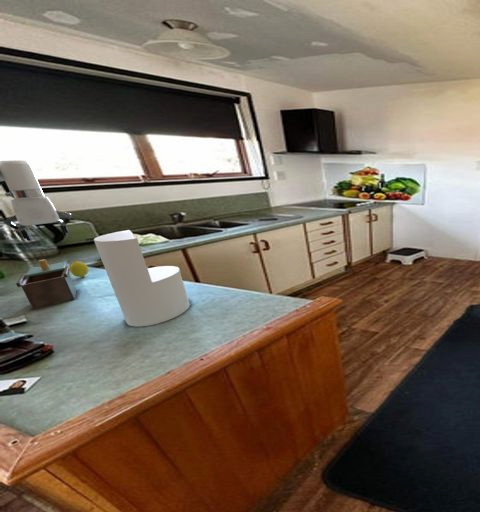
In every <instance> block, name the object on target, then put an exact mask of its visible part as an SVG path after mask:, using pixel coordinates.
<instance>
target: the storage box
mask: <svg viewBox="0 0 480 512" xmlns="http://www.w3.org/2000/svg"><path fill="white" fill-rule="evenodd" d="M69 273H70V266H69V265H68V266H67V265H66V267H65V270H61V271H56V272H51V273H45V274H40V275H35V276H30V277H26V273H24V274H21V276H20V277H19V278H18V279H17V281H16V282H15V285H16V287H17V288H21V289H22V290H23V292H24V294H25V296H26V299H27V300H28V302H29V304H30V306H31V308H32V310H33V311H35V310H39V309H43V308H47V307H51V306H55V305H59V304H62V303H68V302H71V301H75V300H76V294H77V289H76V288H75V285H74V283H73V280H72V278H71V276H70V274H69Z"/></svg>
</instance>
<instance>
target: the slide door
mask: <svg viewBox="0 0 480 512" xmlns="http://www.w3.org/2000/svg"><path fill="white" fill-rule="evenodd" d="M37 262H38V264H39V266H34V267H30V268H29V269H28V271H27V272H26V273H25V275H26V277H30V276H35V275H40V274H45V273H51V272H56V271H61V270H65V267H67V263H68V262H67V261H62V262H57V263H50V264H49V263H48V261H47V259H39V260H37Z"/></svg>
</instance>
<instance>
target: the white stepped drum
mask: <svg viewBox="0 0 480 512" xmlns="http://www.w3.org/2000/svg"><path fill="white" fill-rule="evenodd" d="M93 242H94V245H95V247H96V249H97V252H98V255H99V258H100V259H101V262H102V264H103V267H104V268H105V273H106V275H107V277H108V279H109V282H110V285H111V287H112V289H113V292H114V295H115V298H116V300H117V302H118V305H119V309H120V310H121V312H122V315H123V318H124V321H125V323H126V324H127V325H128V326H131V327H147V326H153V325H157V324H160V323H163V322H164V323H165V322H167V321H169V320H171V319H174V318H176V317H178V316H180V315H182V314H183V313H185V312H186V311H187V310H188V309H189V308H190V306H191V303H190V300H189V297H188V294H187V291H186V288H185V287H186V286H185V284H184V281H183V277H182V273H181V270H180V267H178V266H174V265H162V266H161V265H160V266H154V267H148V266H147V263H146V260H145V258H144V254H143V251H142V249H141V245H140V243H139V239H138V238H137V237H136V235H135V234H134V233H133V232H132V231H131V230H130V229H126V230H120V231H115V232H111V233H106V234H102V235H99V236H96V237H95V238H94V239H93Z"/></svg>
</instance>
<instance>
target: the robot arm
mask: <svg viewBox="0 0 480 512" xmlns="http://www.w3.org/2000/svg"><path fill="white" fill-rule="evenodd" d="M0 182H5V184H6V185H7V188H8V190H9V192H4V195H5V196H6V197H7V198H9V197H11V198H12V199H10V203H11V207H12V210H13V213H14V215H12V216H10V217H9V218H7V219H4V220H3V221H2V222H3V223H4V224H5V225H7V226H9V228H11V229H14V230H16V231H18V232H20V234H21V235H22V237H23V239H24V240H25V239H26V240H27V242H29V241H31V240H33V239H32V236H31V233H30V232H29V230H28V229H26V228H27V227H28V226H35V225H36V226H37V225H44V224H53V223H56V224H58V225H60V226H59V227H60V229H61V232H62V234H63V236H68V234H69V233H70V231H69V228H68V227H67V224H68V223H69V222H70V220H71V218H72V213H70V212H65V211H60V210H57V209H56V208H55V206H54V204H53V203H52V201H51V200H50V198H49V197H48V196H45V194H44V192H43V190H42V187H41V184H40V183H39V181H38V178H37V176H36V174H35V171H34V170H33V167H32V165H31V164H30V162H28V161H26V160H1V161H0ZM60 216H64V217H65V218H64V220H62V219H60ZM16 220H17V223H18V224H19V225H17V224H15V223H14V222H13V221H16Z"/></svg>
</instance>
